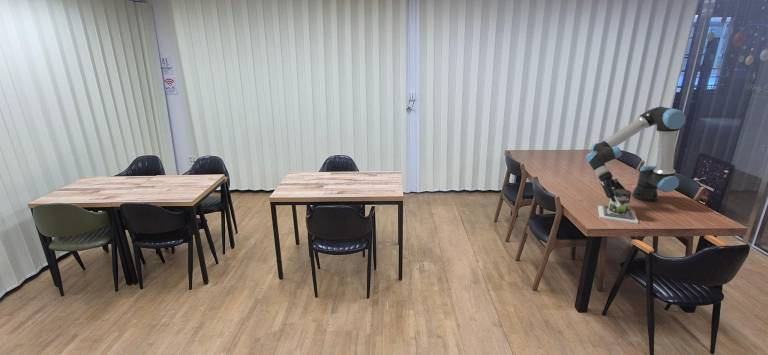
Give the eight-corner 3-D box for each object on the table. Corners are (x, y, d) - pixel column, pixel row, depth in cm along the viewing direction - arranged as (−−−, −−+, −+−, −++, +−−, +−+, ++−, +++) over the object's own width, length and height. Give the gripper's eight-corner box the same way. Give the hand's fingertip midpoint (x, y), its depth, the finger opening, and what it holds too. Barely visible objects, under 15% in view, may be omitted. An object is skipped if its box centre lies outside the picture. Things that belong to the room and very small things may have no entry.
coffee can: (629, 215, 221) (634, 194, 217) (611, 214, 224) (615, 193, 219) (623, 209, 231) (627, 188, 226) (605, 208, 233) (609, 187, 229)
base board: (633, 211, 232) (634, 208, 231) (638, 223, 215) (638, 220, 214) (598, 206, 241) (598, 203, 240) (599, 218, 224) (600, 214, 223)
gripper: (609, 174, 239) (629, 203, 231) (587, 179, 229) (608, 210, 221) (619, 168, 233) (640, 198, 225) (597, 173, 223) (618, 205, 215)
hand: (624, 204), depth 223 cm, fingers closed on coffee can, 10 cm apart
